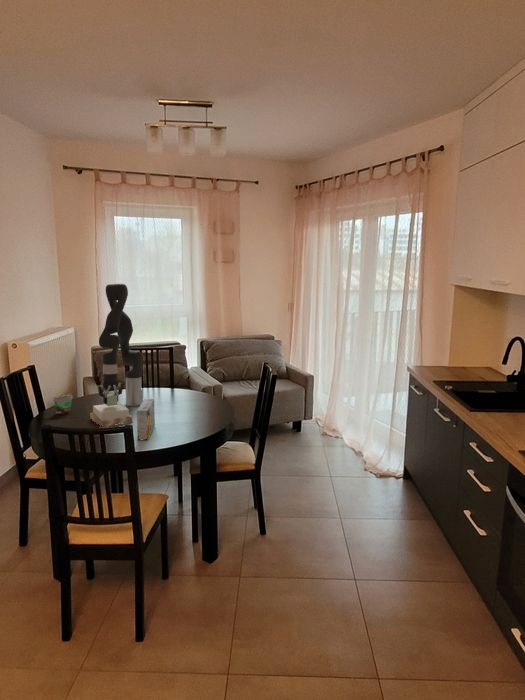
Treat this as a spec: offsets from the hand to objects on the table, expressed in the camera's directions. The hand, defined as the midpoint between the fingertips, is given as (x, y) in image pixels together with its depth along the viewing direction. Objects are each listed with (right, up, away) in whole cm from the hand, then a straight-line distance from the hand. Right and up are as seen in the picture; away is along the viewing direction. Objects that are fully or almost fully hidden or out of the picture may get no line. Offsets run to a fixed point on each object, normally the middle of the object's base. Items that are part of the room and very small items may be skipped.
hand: (110, 402), depth 241 cm
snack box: (+23, -14, -16) cm, 31 cm away
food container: (-30, -7, +13) cm, 33 cm away
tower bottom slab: (0, -10, +2) cm, 10 cm away
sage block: (0, -1, 0) cm, 1 cm away
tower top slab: (0, -6, +1) cm, 6 cm away
